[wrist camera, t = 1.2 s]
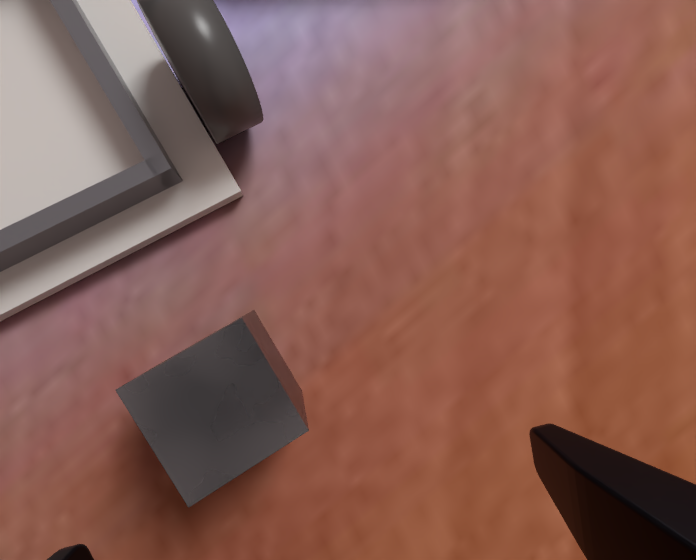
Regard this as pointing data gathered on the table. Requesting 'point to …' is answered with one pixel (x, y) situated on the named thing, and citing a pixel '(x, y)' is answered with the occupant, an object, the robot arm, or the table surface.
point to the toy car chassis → (109, 133)
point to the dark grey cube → (217, 407)
